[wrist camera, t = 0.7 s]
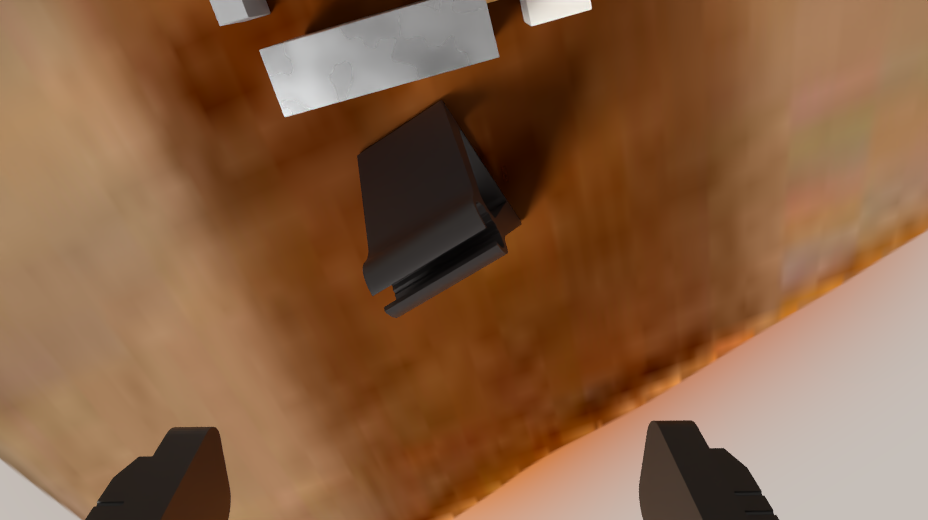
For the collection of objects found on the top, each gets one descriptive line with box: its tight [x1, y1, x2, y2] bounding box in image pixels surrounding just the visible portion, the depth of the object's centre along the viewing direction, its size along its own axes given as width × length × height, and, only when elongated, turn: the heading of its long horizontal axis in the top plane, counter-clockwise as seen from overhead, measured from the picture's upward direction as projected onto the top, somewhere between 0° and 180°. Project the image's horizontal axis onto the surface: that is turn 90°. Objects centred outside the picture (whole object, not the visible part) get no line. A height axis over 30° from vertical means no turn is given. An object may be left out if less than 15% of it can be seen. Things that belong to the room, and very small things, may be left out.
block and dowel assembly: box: [259, 0, 499, 117], centre depth 31 cm, size 15×3×8 cm, turn 105°
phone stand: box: [357, 100, 521, 318], centre depth 33 cm, size 9×6×12 cm, turn 32°
